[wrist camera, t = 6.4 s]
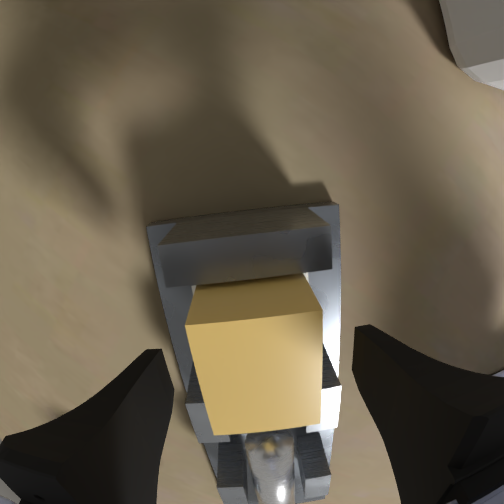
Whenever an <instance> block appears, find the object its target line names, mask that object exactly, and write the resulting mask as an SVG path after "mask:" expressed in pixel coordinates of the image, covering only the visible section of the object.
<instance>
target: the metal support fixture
mask: <svg viewBox="0 0 504 504" xmlns="http://www.w3.org/2000/svg"><path fill="white" fill-rule="evenodd" d="M146 228H147V233H148V239H149V244H150V249H151V254H152V259H153V264H154V269H155V274H156V278H157V283H158V287H159V292H160V296H161V300H162V304H163V309H164V313H165V317H166V321H167V325H168V329H169V333H170V336H171V340H172V344H173V348H174V351H175V355H176V358H177V362H178V365H179V369H180V372H181V376H182V379H183V382H184V386H185V389H186V392H187V396H186V402H185V405H186V408H187V411H188V414H189V417H190V419H191V422H192V425H193V428H194V431H195V434H196V436H197V439H198V442H199V443H204V446H205V449H206V451H207V454H208V457H209V459H210V462H211V465H212V467H213V470H214V472H215V475H216V478H217V489H218V492H219V494H220V496H221V499H222V501H223V503H224V504H258V500H257V496H256V492H255V488H254V483H253V479H252V475H251V470H250V466H249V462H248V457H247V453H246V448H245V438H246V436H247V434H248V433H244V434H230V435H214V434H213V431H212V427H211V424H210V420H209V417H208V414H207V410H206V407H205V403H204V399H203V396H202V392H201V388H200V385H199V381H198V377H197V373H196V369H195V366H194V362H193V358H192V354H191V349H190V345H189V341H188V337H187V333H186V328H185V323H186V319H187V316H188V312H189V309H190V305H191V302H192V298H193V295H194V292H195V288H196V285H203V284H213V283H222V282H231V281H240V280H249V279H257V278H266V277H274V276H283V275H291V274H299V273H303V274H304V276H305V277H306V279H307V281H308V283H309V285H310V287H311V289H312V291H313V292H314V294H315V296H316V298H317V300H318V302H319V304H320V306H321V308H322V309H323V361H322V397H321V419H320V424H314V425H309V426H302V427H296V428H289V430H290V432H291V433H292V435H293V440H294V473H295V503H296V504H297V503H303V502H309V501H315V500H320V499H325V495H328V491H329V485H330V479H331V472H330V469H329V466H330V458H331V450H332V441H333V431H334V428H336V427H337V426H338V417H339V407H340V395H341V384H340V382H339V379H338V368H339V347H340V316H341V251H340V219H339V205H338V204H337V203H335V202H322V203H311V204H300V205H290V206H280V207H270V208H261V209H252V210H243V211H234V212H226V213H218V214H210V215H202V216H194V217H186V218H179V219H171V220H164V221H157V222H151V223H150V224H149V225H148V226H147V227H146Z"/></svg>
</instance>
